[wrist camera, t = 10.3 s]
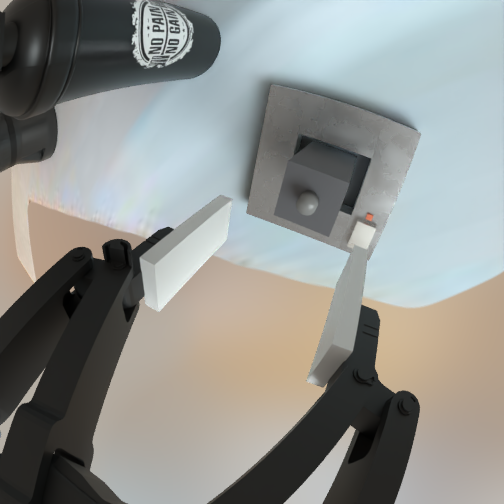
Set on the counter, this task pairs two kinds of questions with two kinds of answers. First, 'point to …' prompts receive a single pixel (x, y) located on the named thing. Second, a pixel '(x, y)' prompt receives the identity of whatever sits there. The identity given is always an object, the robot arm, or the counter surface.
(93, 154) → the counter surface
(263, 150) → the socket
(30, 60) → the water bottle
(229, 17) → the counter surface
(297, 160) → the plug
